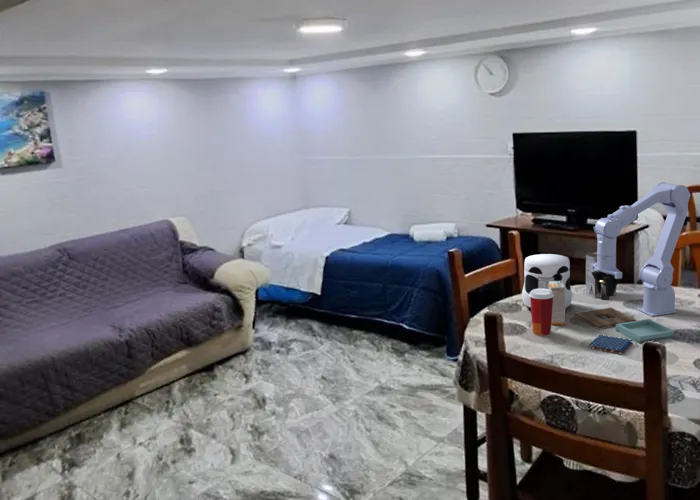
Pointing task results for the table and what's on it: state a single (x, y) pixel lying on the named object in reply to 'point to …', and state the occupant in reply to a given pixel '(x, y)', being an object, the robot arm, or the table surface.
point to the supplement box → (558, 302)
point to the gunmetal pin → (603, 290)
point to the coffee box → (590, 281)
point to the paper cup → (541, 311)
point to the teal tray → (644, 331)
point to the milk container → (545, 275)
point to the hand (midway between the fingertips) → (605, 294)
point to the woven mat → (610, 344)
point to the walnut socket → (614, 319)
